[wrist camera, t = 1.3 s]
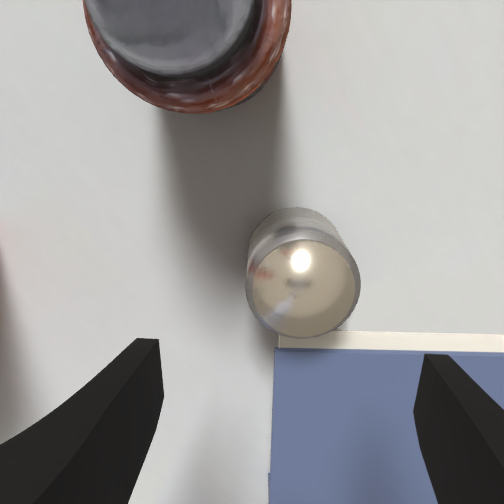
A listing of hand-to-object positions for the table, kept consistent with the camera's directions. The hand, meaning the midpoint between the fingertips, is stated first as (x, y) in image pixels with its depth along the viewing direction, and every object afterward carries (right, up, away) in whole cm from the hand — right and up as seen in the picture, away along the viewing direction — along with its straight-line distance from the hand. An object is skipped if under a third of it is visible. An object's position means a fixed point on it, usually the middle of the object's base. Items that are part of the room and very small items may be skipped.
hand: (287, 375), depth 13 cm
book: (+7, -5, +15) cm, 17 cm away
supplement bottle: (-3, +13, +8) cm, 16 cm away
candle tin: (+1, +3, +11) cm, 12 cm away
